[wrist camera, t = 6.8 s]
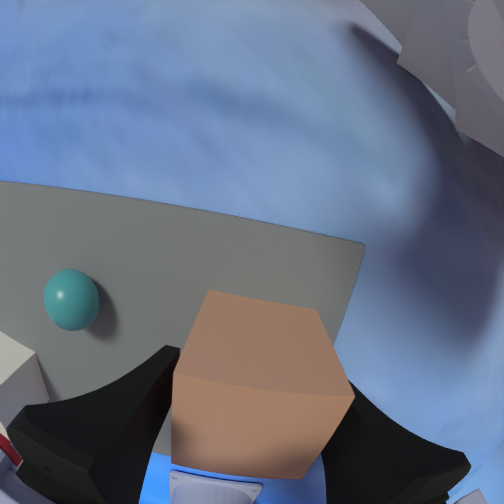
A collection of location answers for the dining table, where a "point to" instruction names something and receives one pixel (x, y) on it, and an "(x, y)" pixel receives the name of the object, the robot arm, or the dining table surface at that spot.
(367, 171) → the dining table surface
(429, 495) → the robot arm
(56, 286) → the teal ball
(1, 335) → the pale gray cube
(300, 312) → the clay colored cube
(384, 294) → the dining table surface
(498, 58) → the white bladed rotor
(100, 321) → the mat
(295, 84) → the dining table surface
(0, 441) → the canned food
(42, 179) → the dining table surface
